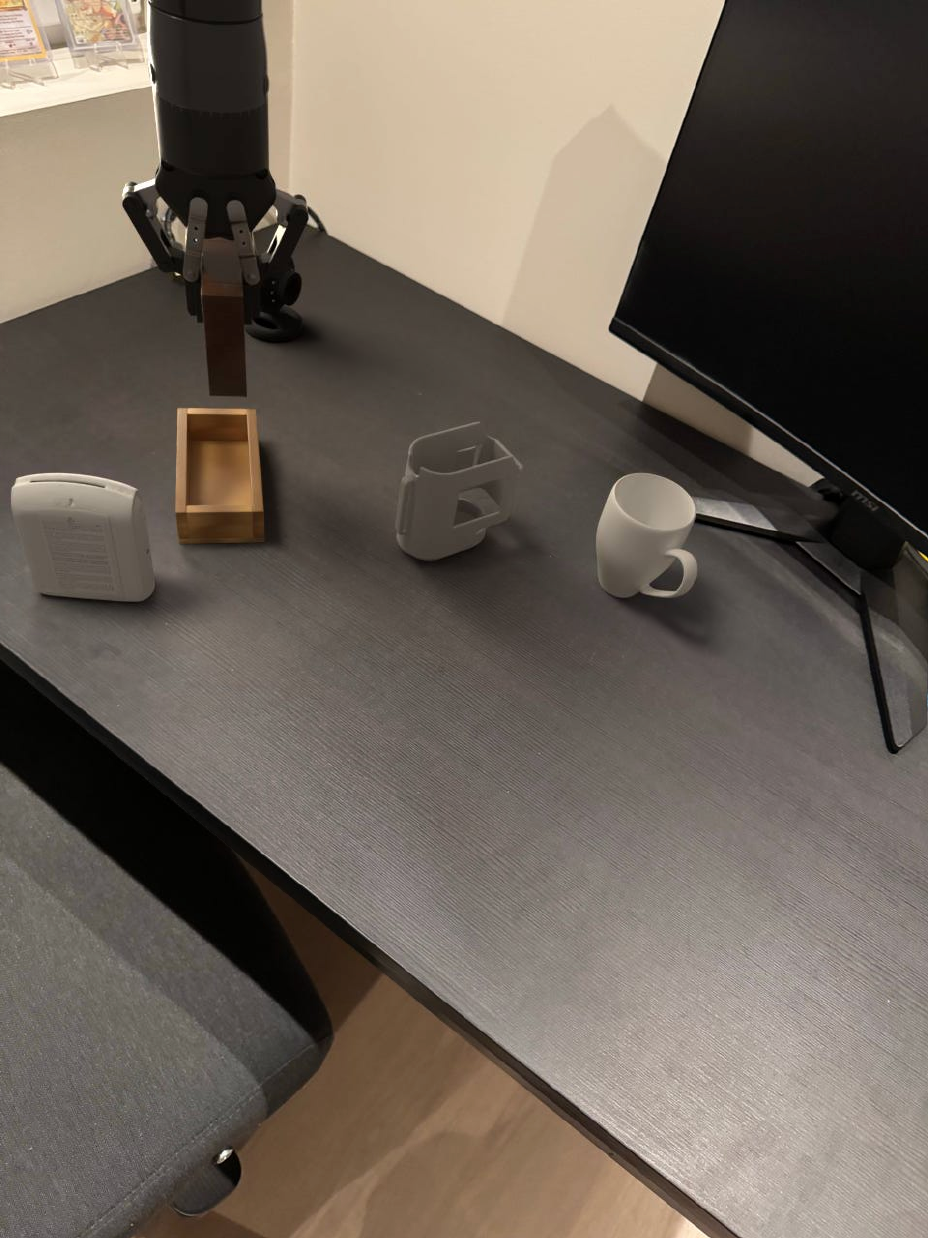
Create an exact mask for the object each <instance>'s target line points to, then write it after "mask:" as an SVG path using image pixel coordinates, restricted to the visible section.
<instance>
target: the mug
mask: <svg viewBox="0 0 928 1238" xmlns="http://www.w3.org/2000/svg"><path fill="white" fill-rule="evenodd" d="M696 517H697V508H696V504H695V501H694V500H693V498H692V497H691V495H690V494H689V493H688V492H687V491H686V489H684V487H682V486H681V485H679V484H678V483H676V482H675V481H673V480H671V479H669V478H667V477H664V476H662V475H658V474H654V473H648V472H636V473H630V474H626V475H624V476H622V477H620V478H619V479H618V480H617V481H616V482H615V483H614V484H613V486H612V488H611V490H610V492H609V495H608V497H607V500H606V502H605V506H604V507H603V510H602V513H601V515H600V517H599V520H598V523H597V529H596V535H595V552H596V554H595V555H596V565H597V566H596V567H597V577H598V583H599V585H600V586H601V588H602V589H603V590H604V591H605V592H606V593H608V594H609V595H611V596H613V597H616V598H623V599H625V598H630V597H631V598H632V597H633V596H635V595H636V594H638V593H640V594H643V595H646V596H650V597H656V598H663V599H666V598H667V599H672V598H677V597H681V596H684V595H685V594H687V593H688V592H689V591H690V590H691V589H692V588H693V586H694V585H695V582H696V580H697V577H698V563H697V560H696V557H695V556H694V554H692V553H691V552H689V551H688V550H684V549H682V548H683V546H684V544H685V542H686V541H687V538H688V537H689V534H690V532H691V531H692V528H693V526H694V524H695V520H696ZM676 559H678V560H679V561H680V562H681V564H682V569H683V578H682V581H681V584H680V585H679V587H678V588H677V589H676V590H662V589H657V588H653V587H652V586H651V585H650V584H651V583H652V582H653V581H655V580H656V579H657V578H658V577H659V576H661V575H662V574H663V573H664V572H665V571H667V569H669V567H671V565H672V564H673V563H674V561H675V560H676Z"/></svg>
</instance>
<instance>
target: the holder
mask: <svg viewBox="0 0 928 1238" xmlns="http://www.w3.org/2000/svg"><path fill="white" fill-rule="evenodd" d="M176 412H177V413H176V454H175V455H176V457H175V459H176V460H175V461H176V462H175V497H174V498H175V501H174V504H175V506H174V507H175V508H174V514H175V515H174V516H175V523H176V530H177V538H178V544H180V545H188V544H192V545H193V544H228V543H229V544H234V543H264V542H265V514H264V513H265V511H264V499H263V498H264V497H263V483H262V482H263V481H262V469H261V457H260V455H261V454H260V444H259V430H258V427H259V426H258V416H257V415H258V414H257V409H256V408H210V407H209V408H205V407H204V408H201V407H200V408H199V407H198V408H197V407H178V408H177V411H176Z"/></svg>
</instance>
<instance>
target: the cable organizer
mask: <svg viewBox="0 0 928 1238" xmlns="http://www.w3.org/2000/svg"><path fill="white" fill-rule="evenodd" d="M477 446H480V448H479V453H478V458H477V462H476V465H473V464H474V460H475V455H476V451H477ZM405 466H406V467H405V474H404V476H403V477H402V478H401V481H400V487H399V494H398V502H397V508H396V516H395V523H394V530H395V531H396V541H397V543H398V546H399V547H400V548H401V550H402V551H404V552H405V553H406V554H407V555H409V556H412V557H413V558H415V559H417V560H419V561H420V560H421V561H425V562H427V561H428V562H433V561H434V562H435V561H439V560H441V559H443V558H447V557H449V556H452V555H455V554H458V553H461V552H463V551H466V550H469V549H472V548H473V547H475V546H476V545H478V544H480V543H481V542H482V541H483V540H484V538H485V536H486V532H487V528H489V527H493V526H495V525H498V524H501V523H504V522H506V521H508V520H509V518H510V516H511V512H512V509H513V504H514V502H515V497H516V493H517V490H518V486H519V483H520V479H521V475H522V471H523V468H524V466H523V464H522V463H521V462H520V461H519V460H518V459H517V458H516V457H515V456H514V455H513V454H512V452H510V451H509V450H508V448H507V447H506V446H505V445H504V444H503V443H502V442H501V440H498V439H496V438H494V437H492V436H489V435H488V434H487V432H486V431H485V429H484V427H483V424H482V423H481V422H480V420H479V421H475V422H472V423H471V422H470V423H468V424H464V425H460V426H456V427H452V428H449V429H445V430H442V431H438V432H434V433H430V434H427V435H423V436H421V437H418V438H416V439H414V440H413V441H412V442H411V444H410V445H409V448H408V453H407V460H406V465H405ZM475 489H482V490H483V491H485V492H486V494H488V496H489V497H490V498H491V499H492V500H493V502H495V504H496V505H497V506H498V509H497V511H495V512H492V513H489V514H487V512H486V511H485V510H484V508H483V507H481V506H480V505H479V504H478V503H476V502H474V501H472V500H469V499H467V498H463V497H462V498H461V497H460V494H461V493H463V492H468V491H470V490H475Z"/></svg>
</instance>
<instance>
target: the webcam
mask: <svg viewBox="0 0 928 1238" xmlns="http://www.w3.org/2000/svg"><path fill="white" fill-rule="evenodd" d="M267 251H268V249H266V250H265V251H264V252H262V254H266V253H267ZM302 279H303V278H302V276H301V274H300V273H299V272H297V271H296V267H295V263H294V260H293V257H292V256H291V258H290V260H289V262H288V264H287V266H286V268H285V270H284V272H283V274H282V276H281V277H279V278H272V277H268V278H265V279H263V280H262V281H261V283H260V312H261V313H260V315H259V318H258V319H260V320H261V319H262V320H265V321H267V322H269V323H271V324H273V325H274V326H276V327H277V328H275V329H274V328H267V327H264V326H261V325H259V324H257V323H256V322H255V320H256V319H257V318H252V325H244V330H246V331H247V333H248V334H249V335H251V336H253V337H255V338H256V339H259V340H263V341H268V342H283V341H290V340H292V339H294V338H296V337H298V335H299V334H300V333H301V332H302V330H303V327H304V323H303V318H302V316H301V315H300V314H299V313H298V312H297V311H296V310H295V309H293V308H292V307H291V306H293V305H294V304H296V302H297V301H298V299H299V297H300V294H301V292H302V287H303V286H302V285H303V281H302Z"/></svg>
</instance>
